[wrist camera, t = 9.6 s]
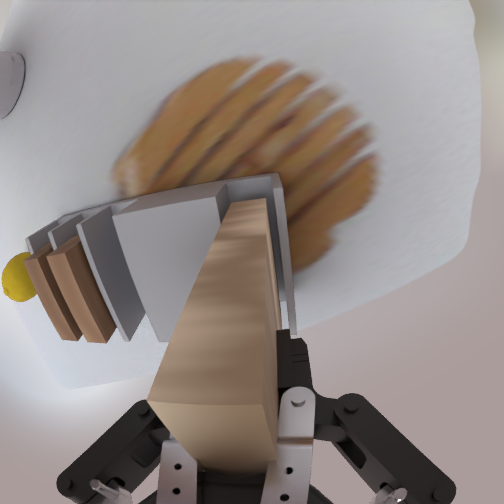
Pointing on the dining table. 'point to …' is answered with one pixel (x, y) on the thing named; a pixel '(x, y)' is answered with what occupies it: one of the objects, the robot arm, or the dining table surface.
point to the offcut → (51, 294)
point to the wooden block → (227, 352)
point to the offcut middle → (81, 291)
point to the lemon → (18, 279)
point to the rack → (166, 247)
